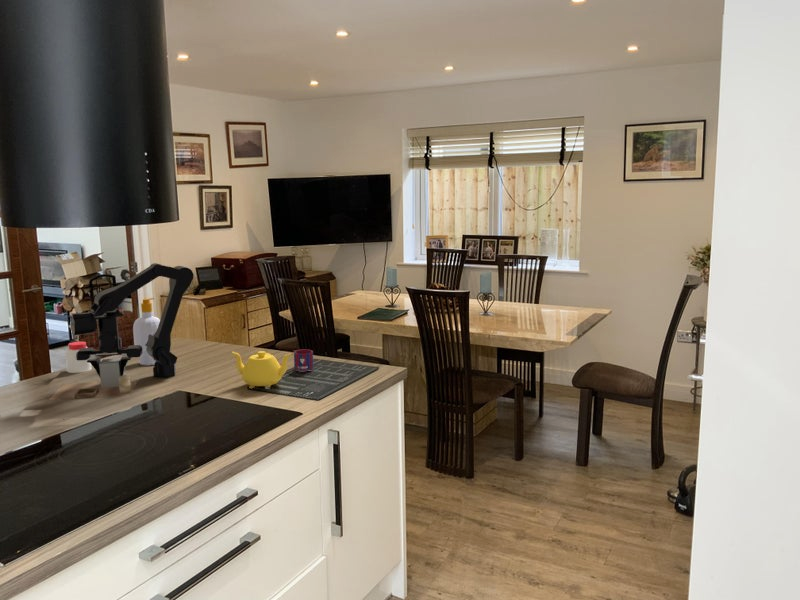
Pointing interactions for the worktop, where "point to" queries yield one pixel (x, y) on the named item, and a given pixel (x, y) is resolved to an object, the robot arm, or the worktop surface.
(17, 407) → the worktop surface
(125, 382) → the maple peg
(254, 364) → the teapot
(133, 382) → the board
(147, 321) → the soap bottle
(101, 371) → the block
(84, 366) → the pill bottle
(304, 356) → the mug
